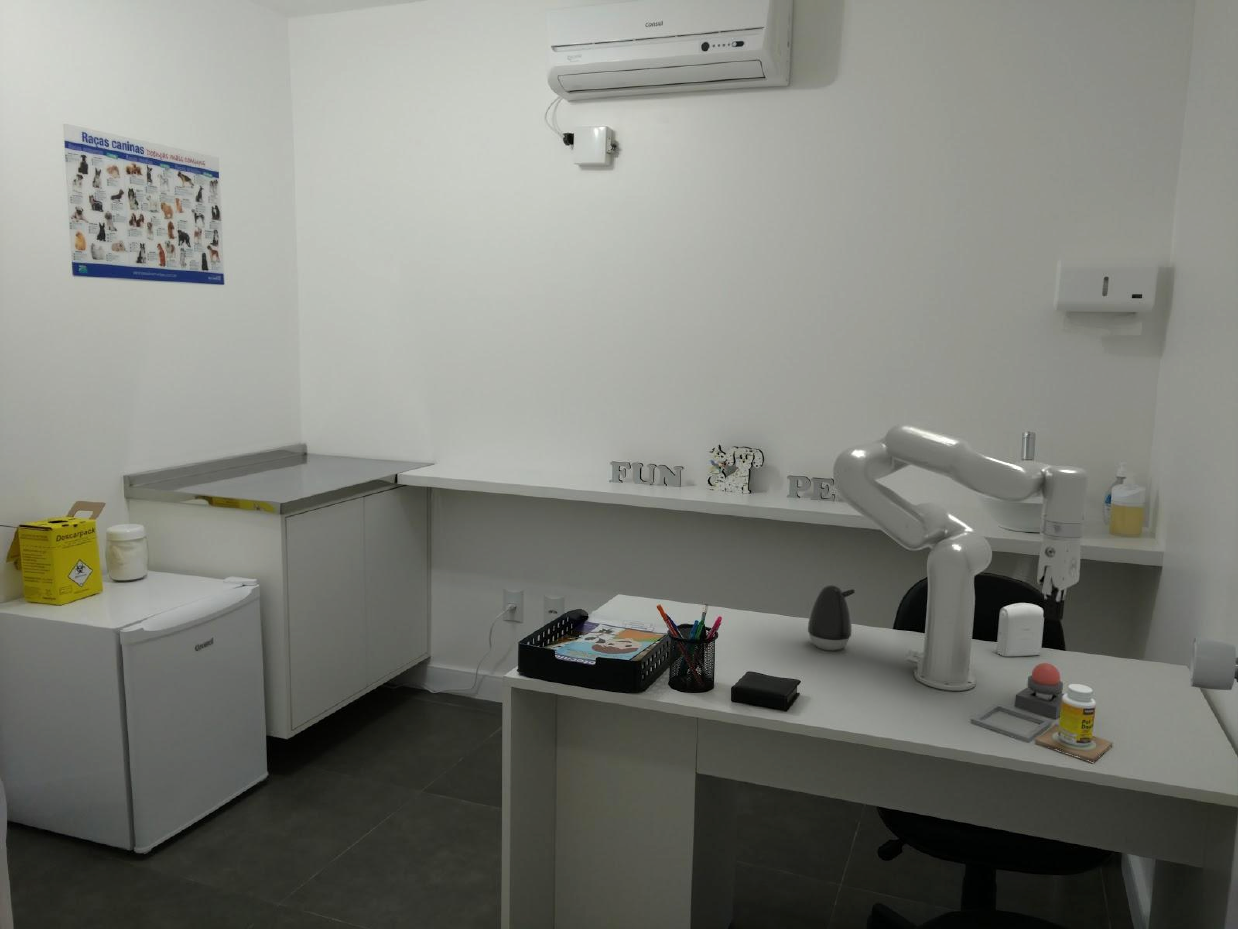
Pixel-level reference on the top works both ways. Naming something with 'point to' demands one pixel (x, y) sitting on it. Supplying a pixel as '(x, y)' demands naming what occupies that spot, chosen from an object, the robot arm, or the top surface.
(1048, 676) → the dome cap
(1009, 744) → the top surface
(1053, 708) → the dome housing
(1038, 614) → the photo printer
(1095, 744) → the pad
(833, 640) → the pump dispenser
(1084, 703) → the supplement bottle
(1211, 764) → the top surface
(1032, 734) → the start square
